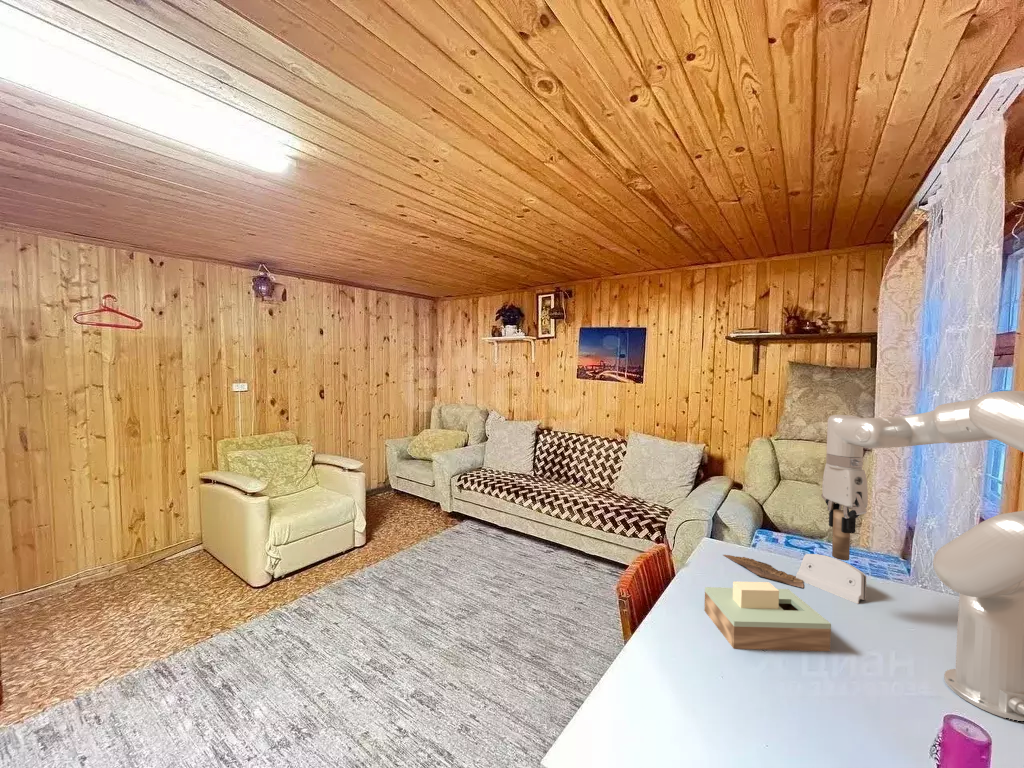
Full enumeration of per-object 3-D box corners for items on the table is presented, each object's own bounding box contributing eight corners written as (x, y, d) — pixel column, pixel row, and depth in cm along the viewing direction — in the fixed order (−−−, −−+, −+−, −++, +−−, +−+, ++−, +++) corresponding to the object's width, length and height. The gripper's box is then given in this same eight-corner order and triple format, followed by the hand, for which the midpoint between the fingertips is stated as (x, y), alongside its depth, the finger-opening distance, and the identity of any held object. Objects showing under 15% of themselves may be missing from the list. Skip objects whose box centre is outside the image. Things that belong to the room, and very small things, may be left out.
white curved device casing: (794, 578, 129) (800, 546, 130) (801, 579, 131) (807, 548, 132) (859, 604, 114) (865, 568, 116) (866, 606, 116) (872, 570, 118)
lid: (830, 628, 93) (831, 604, 93) (734, 626, 94) (734, 602, 94) (788, 593, 108) (788, 572, 108) (704, 591, 109) (705, 570, 109)
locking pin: (852, 560, 107) (854, 514, 107) (839, 560, 107) (840, 513, 107) (841, 554, 111) (843, 509, 111) (828, 554, 111) (830, 509, 111)
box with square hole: (830, 654, 94) (830, 628, 93) (733, 651, 94) (734, 626, 94) (787, 615, 109) (788, 593, 108) (704, 613, 109) (704, 591, 109)
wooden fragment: (814, 585, 125) (814, 582, 125) (793, 594, 120) (793, 590, 120) (735, 552, 148) (735, 549, 148) (715, 558, 143) (715, 555, 143)
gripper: (886, 469, 100) (883, 542, 101) (833, 455, 117) (831, 518, 117) (855, 468, 100) (853, 542, 101) (807, 455, 117) (805, 518, 117)
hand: (841, 528), depth 109 cm, fingers closed on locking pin, 3 cm apart
